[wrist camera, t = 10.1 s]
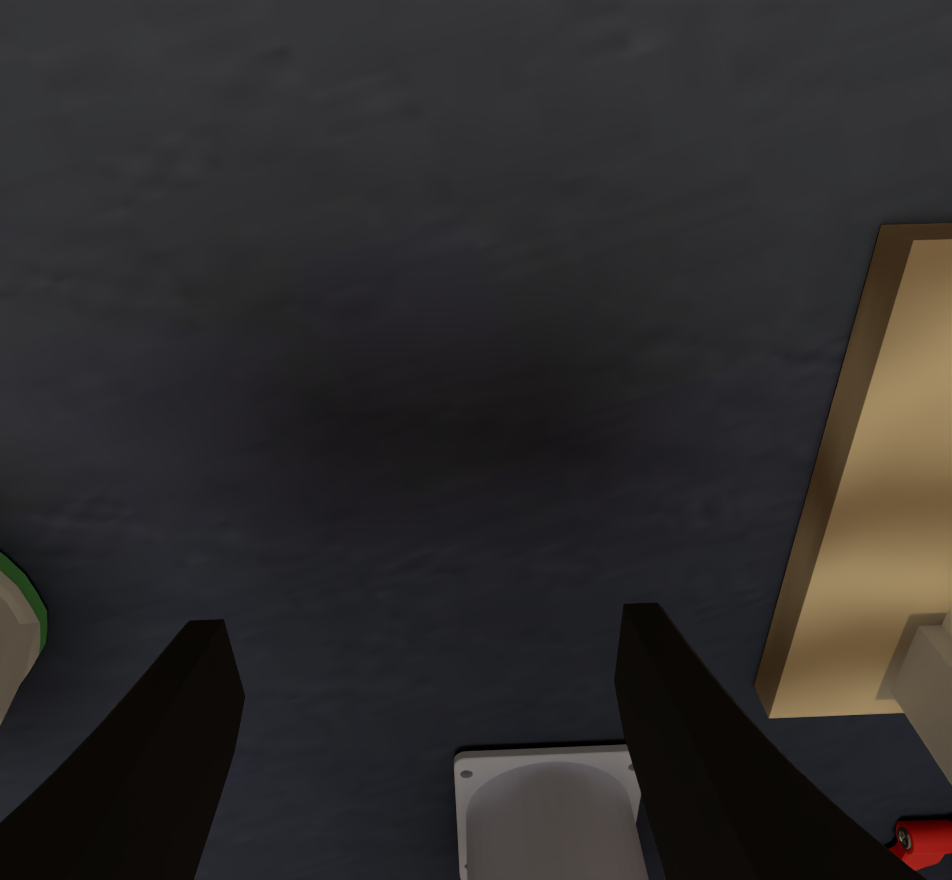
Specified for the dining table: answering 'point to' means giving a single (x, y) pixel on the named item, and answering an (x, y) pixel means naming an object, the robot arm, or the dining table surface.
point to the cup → (18, 630)
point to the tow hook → (923, 841)
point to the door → (929, 689)
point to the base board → (874, 497)
